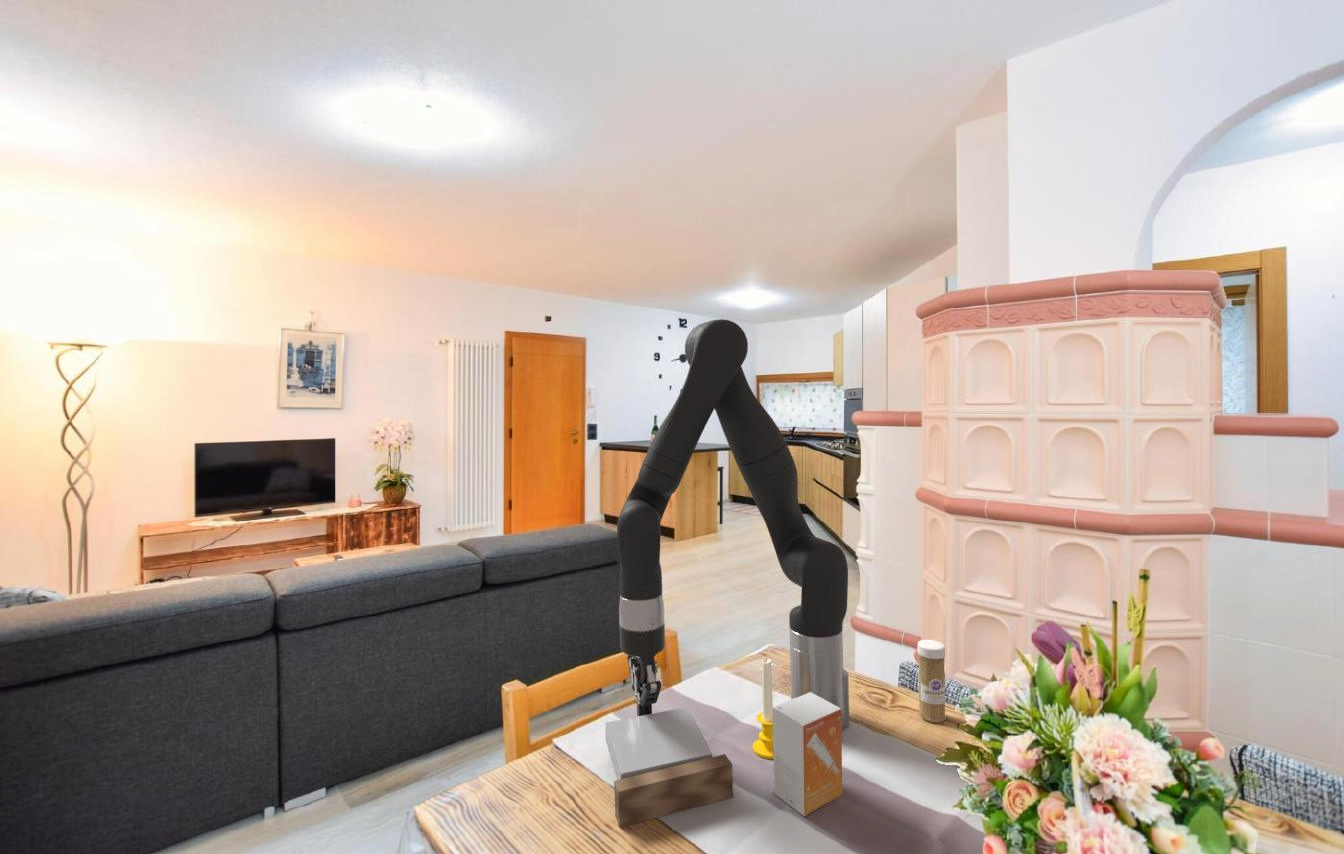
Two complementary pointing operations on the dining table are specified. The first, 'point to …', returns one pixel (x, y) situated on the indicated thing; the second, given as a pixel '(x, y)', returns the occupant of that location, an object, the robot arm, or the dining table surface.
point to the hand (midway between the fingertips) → (644, 722)
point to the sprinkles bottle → (931, 681)
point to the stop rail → (672, 789)
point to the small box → (807, 752)
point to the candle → (766, 714)
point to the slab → (654, 742)
